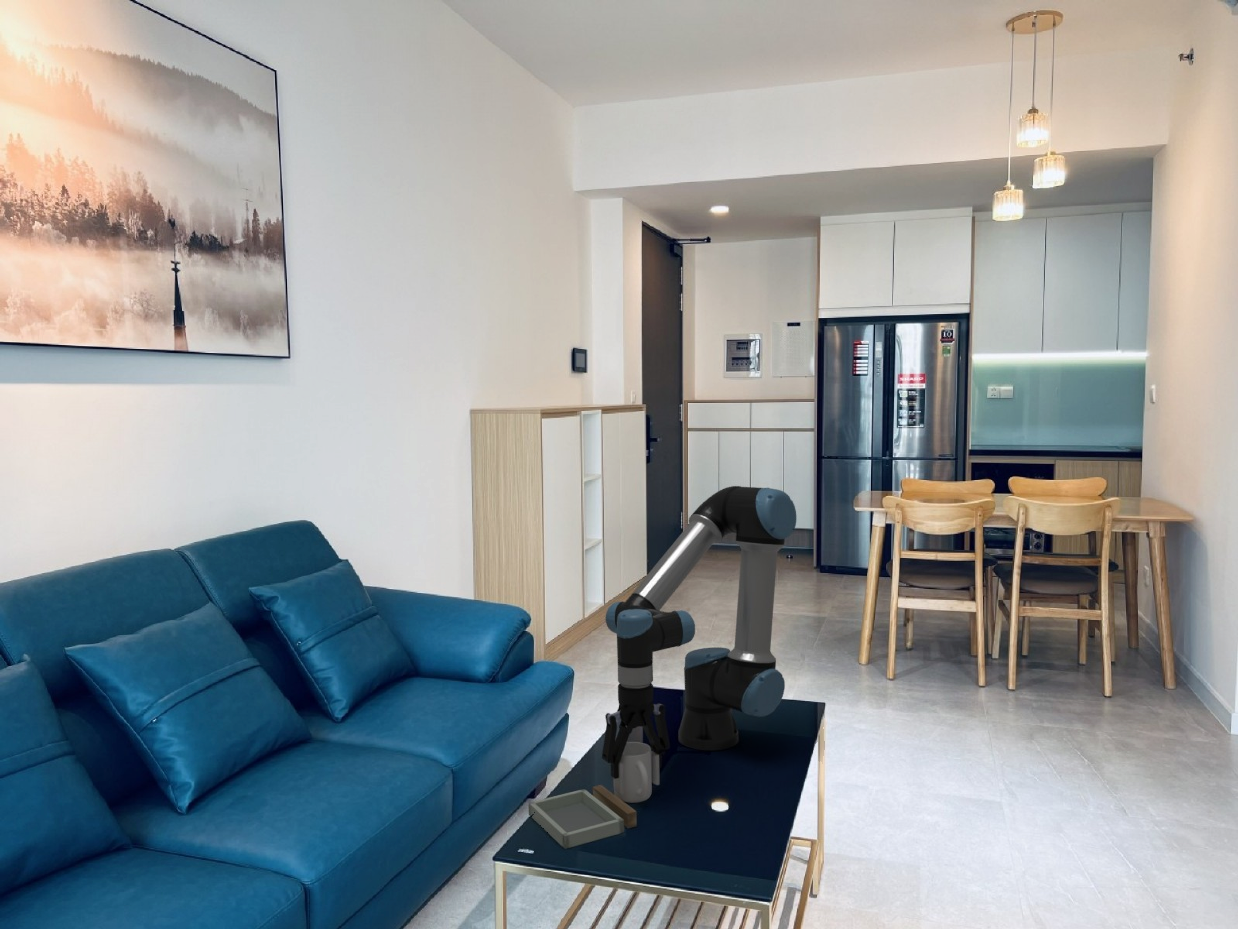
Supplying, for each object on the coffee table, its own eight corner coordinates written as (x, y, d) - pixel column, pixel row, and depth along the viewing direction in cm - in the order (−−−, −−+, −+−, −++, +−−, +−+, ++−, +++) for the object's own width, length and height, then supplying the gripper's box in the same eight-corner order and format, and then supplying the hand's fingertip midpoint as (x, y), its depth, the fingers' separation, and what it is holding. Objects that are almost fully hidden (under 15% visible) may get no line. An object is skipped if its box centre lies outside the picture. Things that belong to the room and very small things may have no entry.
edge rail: (601, 798, 189) (600, 784, 188) (636, 826, 176) (636, 811, 175) (592, 800, 188) (592, 786, 188) (628, 828, 175) (627, 813, 174)
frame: (584, 800, 188) (584, 789, 188) (624, 832, 173) (623, 820, 173) (528, 814, 181) (528, 802, 181) (564, 849, 167) (564, 836, 167)
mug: (664, 807, 184) (664, 759, 184) (627, 813, 181) (627, 764, 181) (643, 785, 195) (642, 739, 195) (608, 791, 192) (607, 744, 192)
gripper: (667, 671, 196) (668, 771, 197) (583, 686, 185) (585, 792, 186) (686, 679, 189) (687, 782, 190) (600, 696, 179) (602, 805, 180)
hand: (637, 787), depth 188 cm, fingers closed on mug, 8 cm apart
